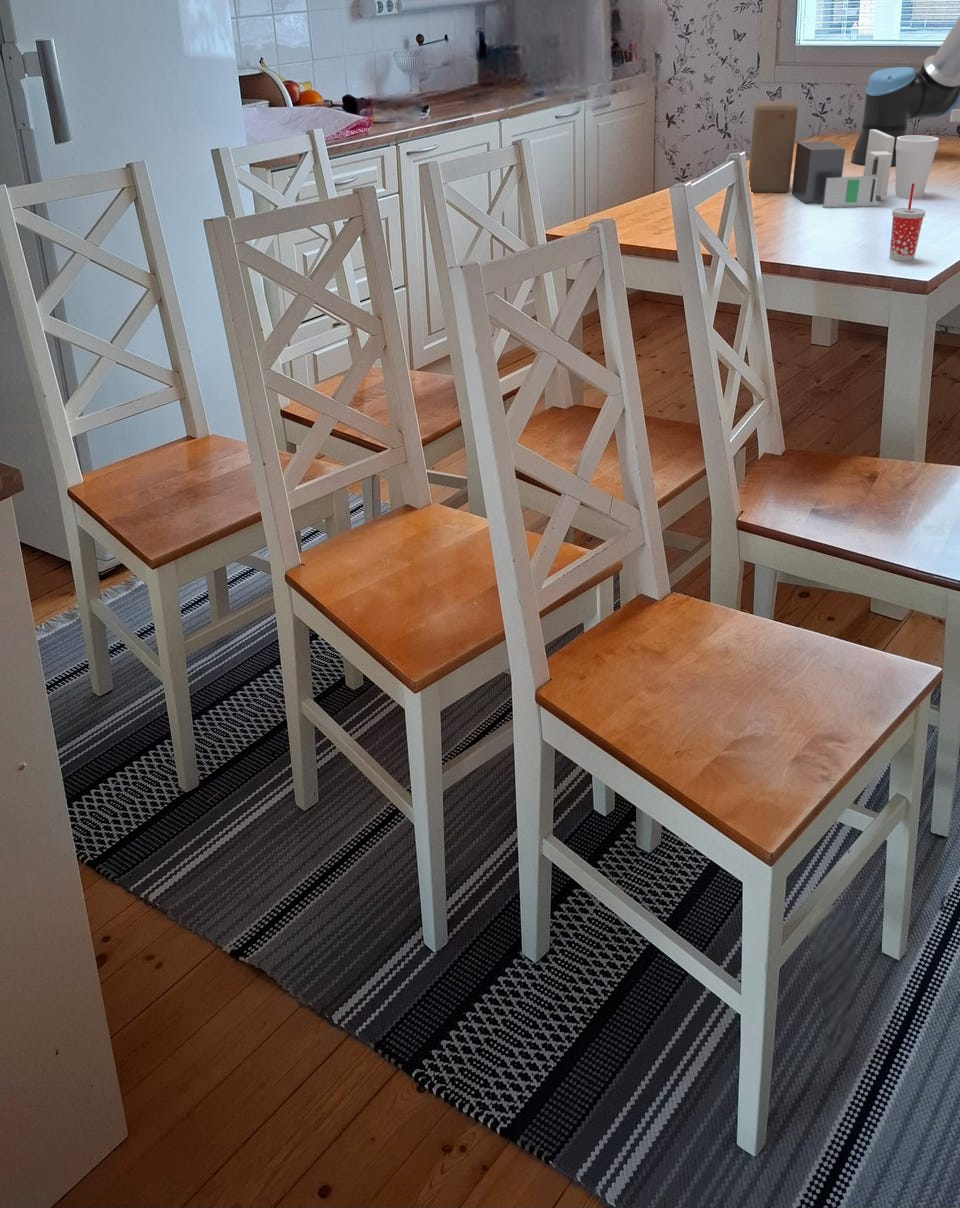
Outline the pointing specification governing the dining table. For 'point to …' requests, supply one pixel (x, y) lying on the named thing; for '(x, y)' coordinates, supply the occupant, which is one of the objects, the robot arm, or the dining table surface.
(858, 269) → the dining table surface
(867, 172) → the gauge slider
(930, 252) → the dining table surface
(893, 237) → the beverage cup
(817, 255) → the dining table surface
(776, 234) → the dining table surface
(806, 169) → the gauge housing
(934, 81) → the robot arm
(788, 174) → the wooden block
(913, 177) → the foam cup
